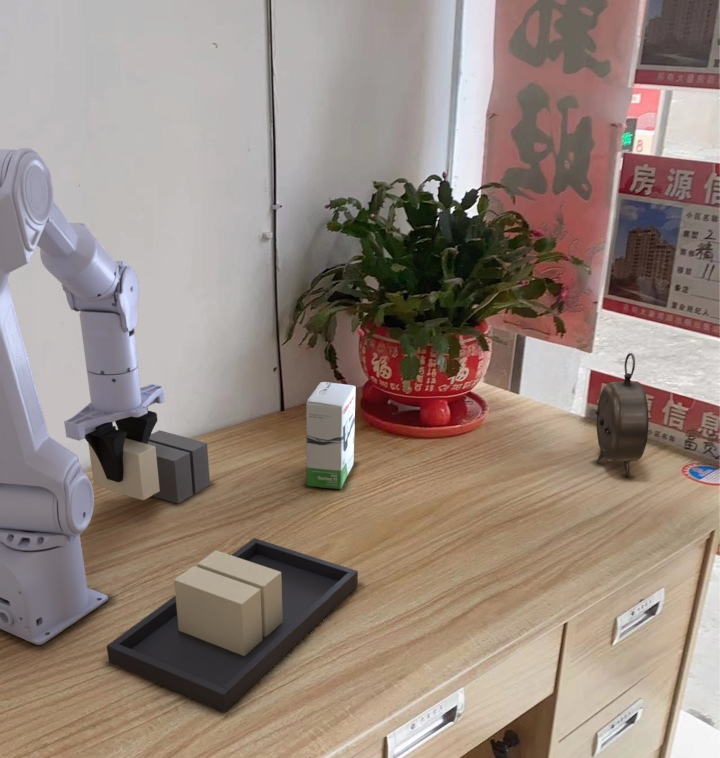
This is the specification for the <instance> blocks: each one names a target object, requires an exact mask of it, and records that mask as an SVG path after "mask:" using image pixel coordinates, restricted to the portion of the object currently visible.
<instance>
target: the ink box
mask: <svg viewBox="0 0 720 758" xmlns="http://www.w3.org/2000/svg"><path fill="white" fill-rule="evenodd" d="M305 410H306V415H305V417H306V418H305V419H306V423H305V424H306V425H305V426H306V427H305V428H306V431H305V432H306V435H305V436H306V438H305V439H306V443H305V445H306V453H305V454H306V457H305V458H306V485H307V487H314V488H315V487H316V488H324V489H325V488H326V489H337V490H341V489H342V487H343V486H344V484H345V482H346V479H347V477H348V476H349V474H350V472H351V470H352V468H353V466H354V455H355V454H354V453H355V422H356V421H355V420H356V418H355V417H356V416H355V415H356V385H352V384H344V383H336V382H330V381H329V382H327V381H321V382H319V384H318V385H317V386H316V388H315V389H314V390H313V392H312V393H311V394H310V396H309V397H308V399H307V400H306V409H305Z"/></svg>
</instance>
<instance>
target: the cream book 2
mask: <svg viewBox="0 0 720 758" xmlns="http://www.w3.org/2000/svg"><path fill="white" fill-rule="evenodd" d="M197 567H199V568H201V569H204V570H207V571H210V572H213V573H216V574H219V575H222V576H224V577H227V578H230V579H233V580H236V581H239V582H242V583H245V584H247V585H250V586H253V587H256V588H259V589H260V590H261V616H262V636H264V637H267V636H268V635H269V634H270V633H271V632H272V631H273V630H274V629H276V628H277V627H278V626H279V625H280V624H281V623H282V622H283V621H282V582H281V572H279V571H276V570H273V569H270V568H267V567H264V566H261V565H258V564H256V563H253V562H250V561H247V560H244V559H241V558H238V557H235V556H232V554H228V553H226V552H223V551H220V550H214V551H212V552H211V553H210V554H209V555H207V556H205V557H204V558H202V560H200V561H198V562H197Z"/></svg>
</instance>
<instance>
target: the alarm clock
mask: <svg viewBox="0 0 720 758" xmlns="http://www.w3.org/2000/svg"><path fill="white" fill-rule="evenodd" d="M630 357H631V359H632V368H631V372H628V368H627V367H628V361H629V358H630ZM623 368H624V375H623V378H624V380H623V381H611V382H609V383H607V384H605V386H604V387H603V388H602V389H601V392H600V394H599V398H598V402H597V407H596V410H595V412H594V414H595V415H596V436H597V442H598V446H599V452H600V454H599V456H598V458H597V459H596V461H595V462H596V463H597V464H598V463H599V462H600V461H601V460H602V459H603V458H605V460H607V461H608V462H623V465H624V470H625V474H624V477H625V478H629V477H631V474H630V470H631V466H630V462H638V461H640V460H641V458H642V457H643V455H644V453H645V450H646V446H647V442H648V438H649V437H648V435H649V405H648V398H647V394H646V391H645V388H644V386H643V384H641V382H639V381H638V380H633V381H632V380H631V379H632V376H633V375H634V371H635V369H636V358H635V355H634V353H632V352H629V353H627V355H626V357H625V360H624V367H623Z"/></svg>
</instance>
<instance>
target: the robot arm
mask: <svg viewBox="0 0 720 758" xmlns="http://www.w3.org/2000/svg"><path fill="white" fill-rule="evenodd" d="M53 187H54V186H53V181H52V175H51V171H50V168H49V167H48V166H47V165H46V163H45V161H44V159H42V157H41V155H40V154H39V153H38V152H37V151H36V150H34V149H33V148H29V147H21V148H18V149H8V148H7V149H6V148H4V149H2V148H0V630H2V631H5V632H6V633H8V634H11V635H13V636H15V637H18V638H20V639H23V640H24V641H27V642H30V643H32V644H34V645H36V646H41V645H44V644H46V642H49V641H50V640H51V639H53V638H54V637H56V636H57V635H58V634H61V632H63V631H65V630H66V629H68V628H69V627H70V626H72V625H74V624H75V623H76V622H78V621H80V620H81V619H82V618H84V617H86V616H87V615H88V614H90V613H91V612H93V611H94V610H96V609H97V608H99V607H100V606H102V605H103V604H104V603H106V602H107V601H108V600H109V597H108V595H107V594H105V593H102V592H100V591H97V590H94V589H93V588H89V587H88V582H87V574H86V568H85V562H84V554H83V549H82V542H81V535H82V534H83V532H84V531H85V530H86V529H87V528H88V526H89V524H90V522H91V520H92V518H93V512H94V507H95V493H94V488H93V485H92V482H91V480H90V479H89V477H88V475H87V474H86V473H85V472H84V470H83V467H82V465H81V462H80V457H79V456H78V455H77V454H76V453H75V452H74V451H72V450H70V448H68V447H66V446H64V445H63V444H62V443H59V442H58V441H57V440H55V439H54V438H53V437H51V436H50V433H49V430H48V426H47V423H46V418H45V415H44V411H43V408H42V404H41V401H40V396H39V392H38V389H37V385H36V382H35V377H34V374H33V371H32V367H31V363H30V359H29V355H28V352H27V347H26V344H25V341H24V337H23V333H22V329H21V325H20V321H19V318H18V315H17V311H16V307H15V304H14V299H13V296H12V292H11V289H10V285H9V277H10V274H11V273H12V272H13V271H16V270H18V269H20V268H22V267H24V266H26V265H28V264H29V263H30V260H31V258H32V257H33V254H34V252H35V249H36V247H38V248H39V249H40V250H39V255H40V260H41V263H42V265H43V267H44V268H45V269H46V270H47V271H48V272H49V273H50V274H51V275H52V276H53V277H54V278H55V279H56V280H57V281H58V282H59V283H60V284H61V287H62V291H64V293H65V296H66V301H67V303H68V306H69V308H70V310H71V311H74V312H79V314H78V315H79V320H80V321H79V322H80V328H81V329H80V330H81V337H82V344H83V352H84V360H85V367H86V374H87V375H86V376H87V383H88V390H89V397H90V403H88V404H87V405H85V407H83V408H82V409H81V410H79V411H78V412H77V413H76V414H75V415H73V416H72V417H70V418H69V419H66V420H64V423H63V424H64V430H65V438H69V439H71V440H75V441H78V442H80V441H82V440H83V439H84V440H86V442H87V443H89V444H90V446H91V447H92V449H93V450H94V452H95V454H96V455H97V457H98V459H99V461H100V464H101V466H102V468H103V470H104V473H105V475H106V478H107V479H109V480H112V481H115V482H121V481H123V472H124V469H123V447H124V442H125V438H127V439H130V440H134V441H137V442H141V443H145V444H148V441H149V438H150V435H151V434H153V433H152V432H153V430H154V428H155V426H156V424H157V422H158V413H157V412H155V411H152V410H149V407H150V406H152V405H154V404H162V403H165V402H166V392H165V386H162V385H158V384H154V383H151V384H148V385H144V386H141V380H140V374H139V372H140V371H139V364H138V363H139V361H138V352H137V342H136V332H135V327H137V326H138V320H139V315H138V304H139V298H140V281H139V278H138V276H137V272H136V271H135V269H134V267H133V266H129V264H128V263H127V262H125V261H123V260H115V259H114V258H113V257H112V256H111V254H110V253H109V252H108V251H107V250H106V248H105V247H104V246H103V245H102V244H101V242H99V239H97V238H96V237H95V236H94V235H93V233H92V232H91V231H90V230H89V227H88V226H87V225H86V224H85V223H82V222H69V221H68V219H67V218H66V216H65V215H64V214H63V212H62V210H61V209H60V208H59V206H58V205H57V203H56V202H55V200H54V188H53ZM114 423H115V425H114Z"/></svg>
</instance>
